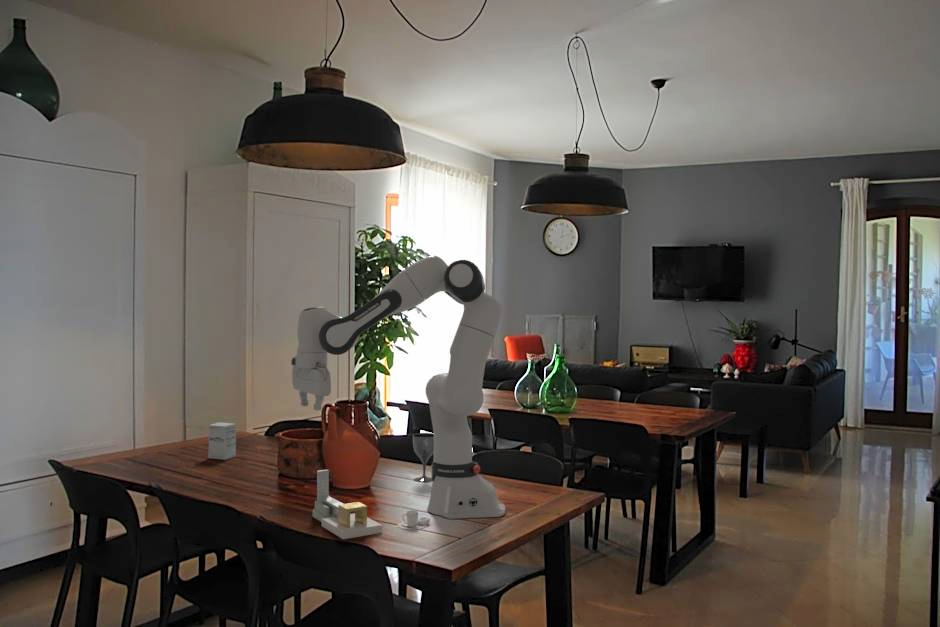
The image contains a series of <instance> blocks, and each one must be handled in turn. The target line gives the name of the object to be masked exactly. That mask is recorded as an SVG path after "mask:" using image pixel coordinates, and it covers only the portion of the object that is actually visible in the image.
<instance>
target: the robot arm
mask: <svg viewBox="0 0 940 627" xmlns="http://www.w3.org/2000/svg"><path fill="white" fill-rule="evenodd" d="M485 290H486V285H485V279H484V276H483V273H482V272H481V271H480V269H479V267H478V266H477V265H476V264H475V263H474V262H472V261H470V260H468V259H458V260H455V261H453V262H451V263H450V264H449V265H448V264H447V263H446V262H445V260H444V259H442V258H441V257H439V256H437V255H432V254H431V255H428V256H426V257H424V258H422V259H420V260H418V261H416V262H414V263H412V264H410V265H409V266H407V267H406V268H405V269H403V270H402V271H400V272H398V273H397V274H396V275H395V276H394V277H392V279H390V280H389V282H388V283H387V284H386V285H385V286H384V287H383V288H382V289H381V290H380V291H379V292H378V293H377V295H375V296H374V297H373V298H372V299H371V300H369V301H368V302H366V303H365V304H364V305H362V306H360V307H359V308H358V309H356V310H354V311H353V312H351V313H350V314H348V315H347V316H344V317H343V316H340V315H338V314H335V313H333V312H332V311H330V310H329V309H328V308H326V307H325V306H315V307H308V308H305V309H302V311H300V313H299V316H298V320H297V334H296V335H297V340H298V346H297V350H296V355H294V356H293V357H292V358H291V359H290V364H291V366H292V368H291V373H292V374H291V378H292V382H291V383H292V386H293V390H296V391H298V394H299V398H300V405H301V407H308V406H309V399H308V394H310V395H313V396H314V399H315V402H314V403H313V410H314V411H321V410H322V404H323V402H324V399H325V398H324V397H329V396H330V395H331V392H332V387H331V386H332V382H331V381H332V379H331V373H330V370H329V369H328V353H329V354H331V355H334V356H338V355H344V354H345V353H347V352H349V351H350V350H351V349H353V348H354V347H355V346H357V344H358V342H359V340H360V337H361V334H363V333H364V332H366V331H368V330H369V329H370V328H371V327H373V326H375V325H376V324H378V323H379V322H380V321H382V320H383V319H386V318H388V317H390V316H392V315H395V314H399V313H403V312H407V311H409V310H411V309H413V308H414V307H416V306H418V305H420V304H422V303H424V302H425V301H427V300H428V299H430V298H431V297H433V295H435V294H438V293H440V292H444V293H445V294H446V295H447V296H449V297H450V298H451V299H452V300H454V301H455V302H457V303H458V304H460V305H463V313H462V316H461V319H460V321H459V324H458V327H457V329H456V332H455V334H454V338H453V340H452V343H451V346H450V348H449V354H450V356H449V358H450V360H449V368H448V372H444V373H439V374H436V375H434V376H432V377H431V378H430V379H429V380H428V381H427V384H426V386H425V395H426V399H427V400H428V405H429V413H430V418H431V425H432V432H433V433H432V434H434V453H433V460H432V461H431V476H430V478H432V483H431V491H430V492H431V493H430V496H429V502H428V506H427V509H426V510H427V511H428V512H429V513H430V514H433V515H437V516H441V517H444V518H446V519H451V520H455V519H473V518H474V519H475V518H478V519H479V518H499V517H502V516H504V515H505V514H506V506H505V504H504V503H503V502H501V501H499V498H498V492H497V490H496V488H495V487H494V485H493V484H491V483H490V482H489V481H488V480H486V479H485V478H484V477H482V476H481V475H480V474H479V473H480V472H481V466H480V465H479V463H478V462H477V461H474V460H472V459H473V433H472V430H471V429H470V426H469V421H468V417H469V416H473V415H475V414H476V413H478V412H479V411H480V410H481V409H482V406H483V404H484V401H485V400H484V399H485V398H484V392H483V386H484V384H483V383H484V376H485V369H486V364H487V362H488V357H489V355H490V352H491V350H492V346H493V343H494V340H495V338H496V335H497V331H498V330H499V324H500V320H501V314H502V305H501V303H500V301H499V300H498V299H497V298H496V297H494V296H492V295H489V294H488V293H486V292H485Z"/></svg>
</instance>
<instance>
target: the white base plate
mask: <svg viewBox="0 0 940 627" xmlns="http://www.w3.org/2000/svg"><path fill="white" fill-rule="evenodd" d="M321 527H322V528H324V529H325V530H326V531H329V532H330V533H332V534H333V535H335V536H337V537H338V538H340V539H342V540H346V539H353V538H359V537H366V536H370V535H375V534H382V533H383V524H381V523H379V522H377V521H376V520H374V519H371V518H370V517H368V516H367V524H366V525H363V524H361V523H359V522H357V521H355V512H354V513H350V527H348V528H346V527H344V526H343V525H341V524H339V523H338V518H337V517H336V516H335V517H329V518H323V519H322V522H321Z"/></svg>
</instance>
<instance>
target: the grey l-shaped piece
mask: <svg viewBox="0 0 940 627" xmlns="http://www.w3.org/2000/svg"><path fill="white" fill-rule="evenodd" d="M316 471H317V472H316V475H317V476H316V501H319V502H321V503H323V504H325V505H326V506H328V507H329V513H330V514H332V515H334V516H336V517H337V518H338V505H340V504H344V503H343V502H341V501H339V500H338V501H337V499H336V498H335V497H334V498H333V497H331V496H330V494H329V493H330V491H329V490H330V487H329V486H330V485H329V484H330V478H329V477H330V470H329V469H319V470H316ZM335 499H336V500H335Z"/></svg>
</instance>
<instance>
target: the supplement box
mask: <svg viewBox="0 0 940 627" xmlns="http://www.w3.org/2000/svg"><path fill="white" fill-rule="evenodd" d="M236 453H237V424H236V423H232V422H214V423H211V424H209V425H208V455H207V456H208V459H214V460H223V461H226V460H230V459H233V458H234V457H236V455H237V454H236Z"/></svg>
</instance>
